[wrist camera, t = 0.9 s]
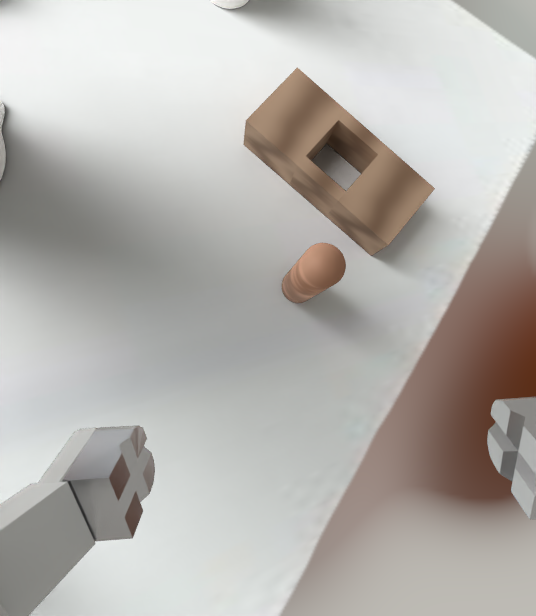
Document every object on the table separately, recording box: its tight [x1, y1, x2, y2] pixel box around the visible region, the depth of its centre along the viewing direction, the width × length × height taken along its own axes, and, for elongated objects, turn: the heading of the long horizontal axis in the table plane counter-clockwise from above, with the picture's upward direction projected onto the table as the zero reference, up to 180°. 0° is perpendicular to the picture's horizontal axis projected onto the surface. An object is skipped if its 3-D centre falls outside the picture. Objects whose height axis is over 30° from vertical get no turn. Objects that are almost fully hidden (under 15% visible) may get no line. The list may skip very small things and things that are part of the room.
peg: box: [282, 243, 346, 303], centre depth 40 cm, size 4×4×12 cm
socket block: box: [244, 68, 435, 256], centre depth 45 cm, size 21×9×5 cm, turn 50°
